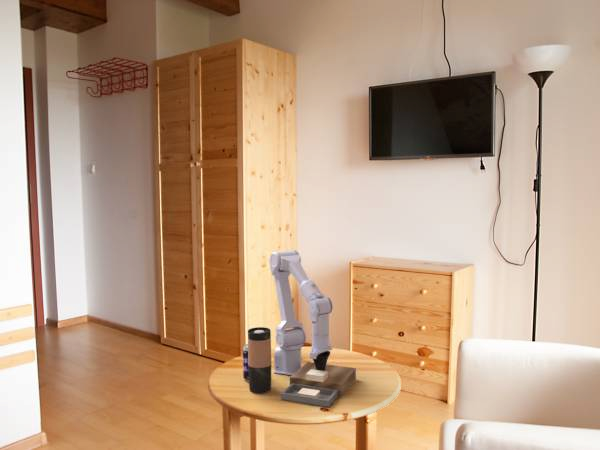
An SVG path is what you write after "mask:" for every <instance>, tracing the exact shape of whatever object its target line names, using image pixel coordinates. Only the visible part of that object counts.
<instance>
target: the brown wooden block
mask: <svg viewBox="0 0 600 450" xmlns="http://www.w3.org/2000/svg"><path fill="white" fill-rule="evenodd" d="M311 369H312V370H316V367H315V363H314V362H313V361H307V362H306V363H304V364H303V365H301V368H300V369H299V370H298V371H296V372H295V373H294V374H293V375H289V386H290V385H291V384H292V383H295V384H301V385H308V386H315V387H322V388H328V389H335V390H338V397H341V398H342V397H343V396H344V394H345V393H346V392H347V391H348V390H349V389H350V387H351V386H352V385H353V384H354V382H355V381H356V380H357V378H356V377H357V373H356V372H357V369H356V367H349V366H342V365H334V364H327V363H326V368H325V371H327V372H328V378H327V379H326V380H325V381H324V382H318V381H311V380H306V373H308V372H309V371H310V370H311Z"/></svg>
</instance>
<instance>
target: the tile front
mask: <svg viewBox="0 0 600 450" xmlns="http://www.w3.org/2000/svg"><path fill="white" fill-rule="evenodd" d="M297 395H302V396H309V397H315V398H319V397H320V390H314V389H307V388H302V389H301V390H300V391H299V392H298V393H297Z"/></svg>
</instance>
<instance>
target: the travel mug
mask: <svg viewBox="0 0 600 450" xmlns="http://www.w3.org/2000/svg"><path fill="white" fill-rule="evenodd" d="M271 333H272V332H271V328H268V327H265V326H264V327H261V326H258V327H251V328H249V329H248V330H247V344H248V370H249V381H248V386H249V387H248V388H249V391H250V392H251V393H252V392H253V394H259V395H260V394H267V393H268V392H270V391H271V390H272V334H271Z"/></svg>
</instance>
